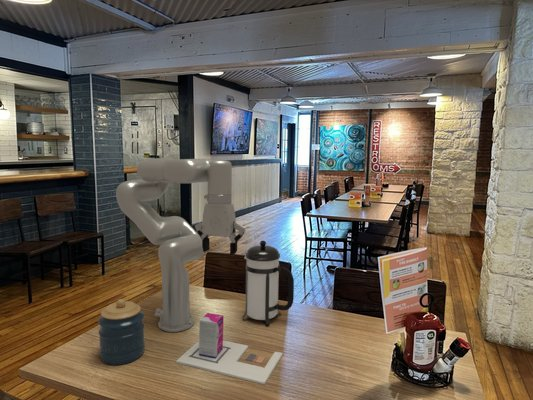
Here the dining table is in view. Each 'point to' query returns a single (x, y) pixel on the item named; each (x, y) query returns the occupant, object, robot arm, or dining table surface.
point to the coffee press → (265, 283)
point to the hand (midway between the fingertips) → (219, 252)
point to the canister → (121, 333)
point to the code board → (231, 362)
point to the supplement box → (211, 335)
